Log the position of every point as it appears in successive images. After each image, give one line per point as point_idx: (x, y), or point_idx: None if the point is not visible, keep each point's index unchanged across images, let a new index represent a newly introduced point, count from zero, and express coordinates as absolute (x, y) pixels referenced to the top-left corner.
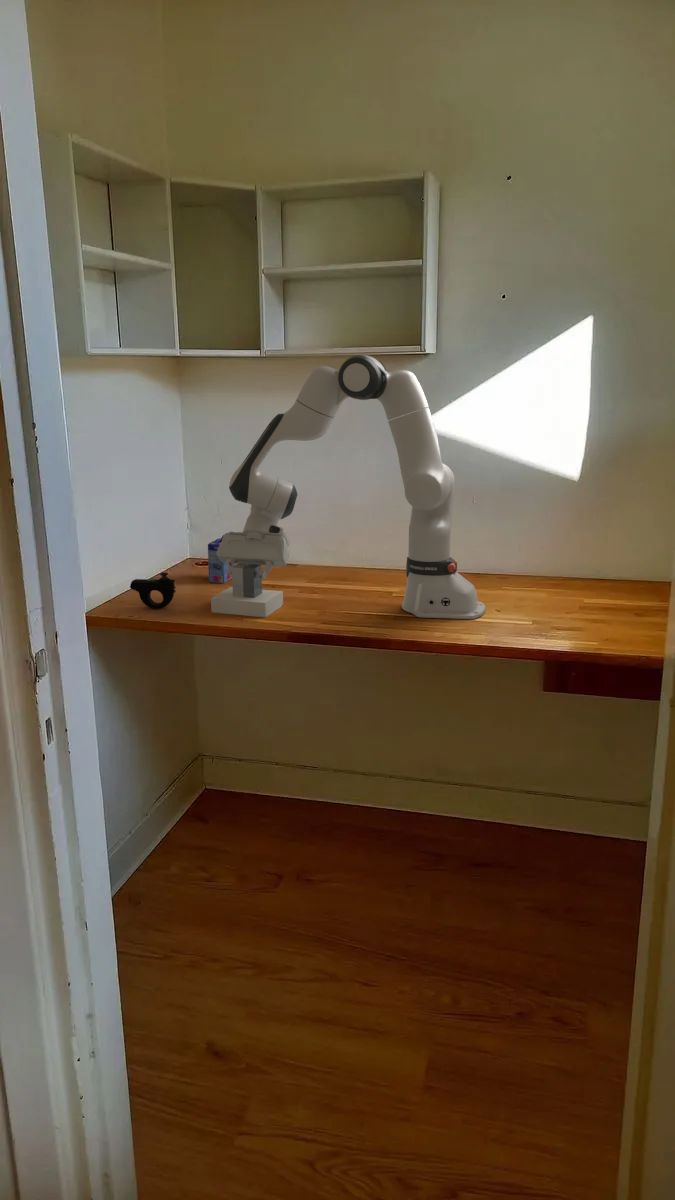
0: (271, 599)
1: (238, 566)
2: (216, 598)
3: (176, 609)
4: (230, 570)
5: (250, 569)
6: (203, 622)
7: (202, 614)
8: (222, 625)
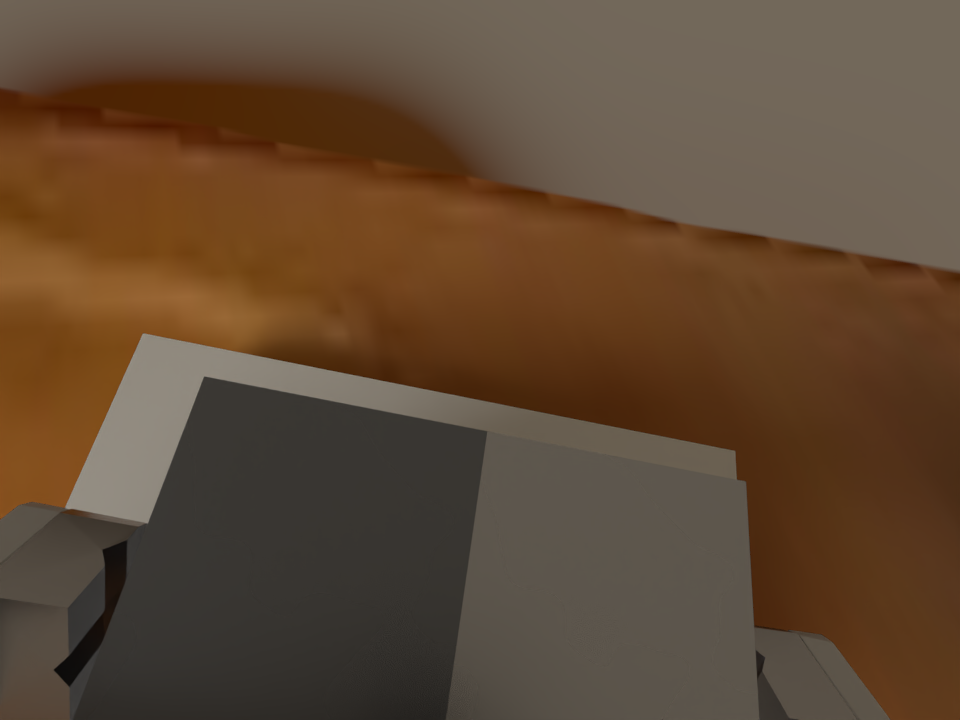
0: (74, 498)
1: (642, 605)
2: (678, 441)
3: (943, 526)
4: (785, 659)
5: (285, 399)
6: (617, 258)
7: (706, 423)
8: (477, 208)
